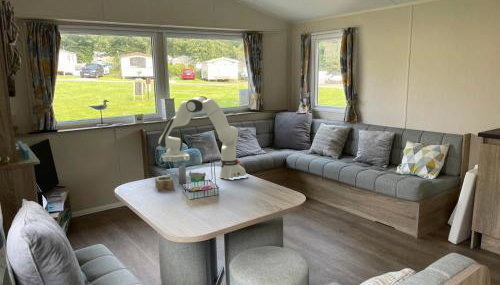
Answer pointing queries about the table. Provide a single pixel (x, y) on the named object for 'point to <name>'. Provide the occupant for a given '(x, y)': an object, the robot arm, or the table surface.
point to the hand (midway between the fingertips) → (178, 160)
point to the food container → (197, 177)
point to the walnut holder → (164, 183)
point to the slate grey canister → (182, 174)
